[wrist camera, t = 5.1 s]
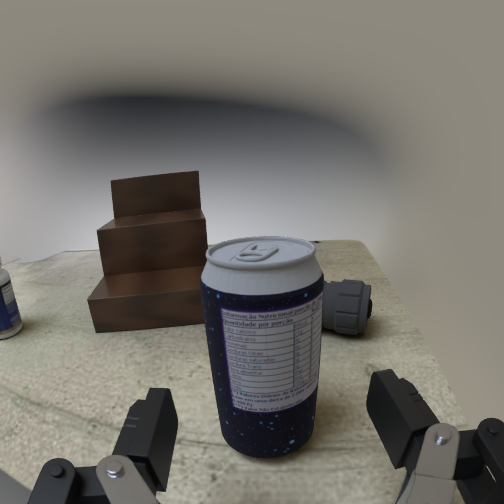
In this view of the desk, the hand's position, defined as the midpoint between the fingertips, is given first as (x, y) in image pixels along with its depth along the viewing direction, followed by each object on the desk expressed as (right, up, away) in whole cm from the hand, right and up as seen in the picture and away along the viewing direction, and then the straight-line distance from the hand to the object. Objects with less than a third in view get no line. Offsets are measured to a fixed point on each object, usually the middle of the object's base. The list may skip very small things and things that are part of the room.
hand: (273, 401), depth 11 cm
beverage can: (0, -6, +6) cm, 8 cm away
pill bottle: (-32, -4, +18) cm, 37 cm away
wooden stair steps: (-13, 0, +29) cm, 32 cm away
